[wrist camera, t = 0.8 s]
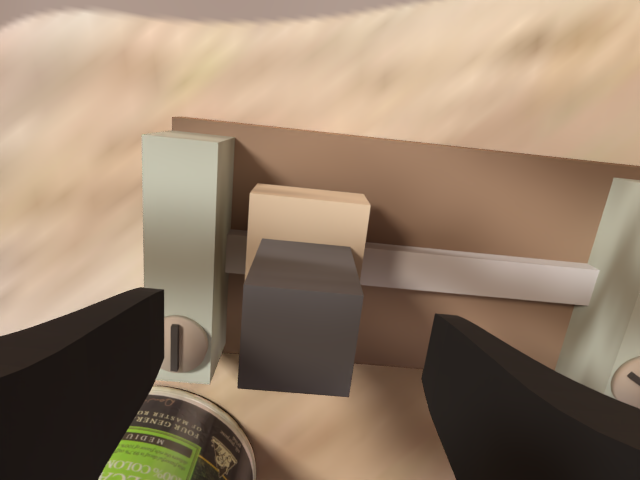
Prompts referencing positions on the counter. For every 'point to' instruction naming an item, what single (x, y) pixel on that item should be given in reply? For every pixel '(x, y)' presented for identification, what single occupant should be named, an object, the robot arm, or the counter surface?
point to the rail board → (405, 245)
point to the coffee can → (181, 442)
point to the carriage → (302, 289)
